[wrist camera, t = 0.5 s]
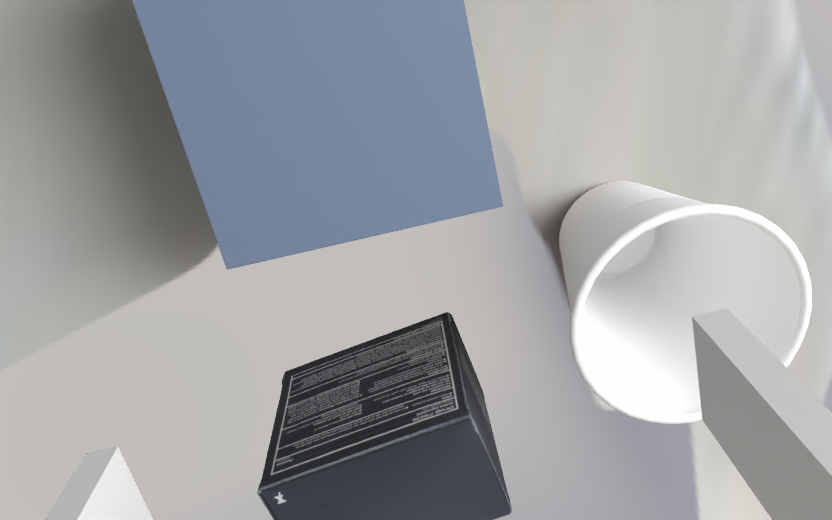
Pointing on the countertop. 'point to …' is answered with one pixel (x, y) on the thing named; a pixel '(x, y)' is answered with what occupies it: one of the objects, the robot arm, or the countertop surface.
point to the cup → (671, 292)
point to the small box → (386, 434)
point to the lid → (323, 117)
